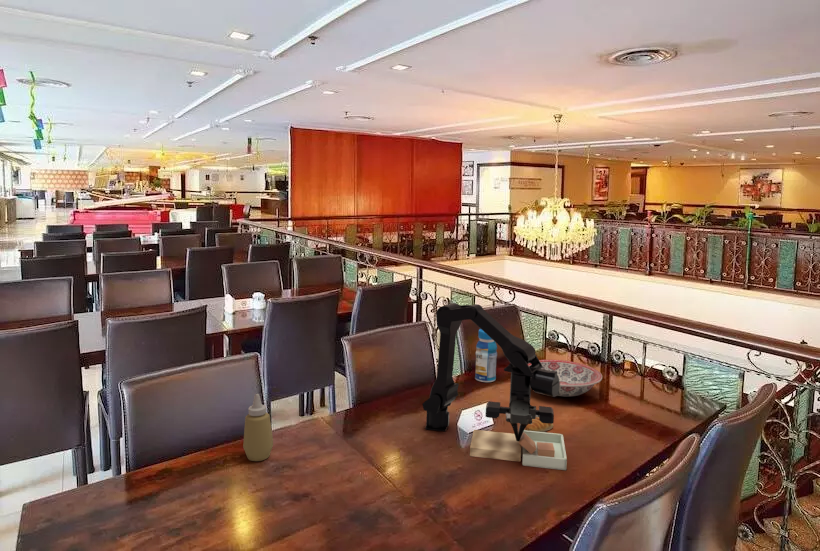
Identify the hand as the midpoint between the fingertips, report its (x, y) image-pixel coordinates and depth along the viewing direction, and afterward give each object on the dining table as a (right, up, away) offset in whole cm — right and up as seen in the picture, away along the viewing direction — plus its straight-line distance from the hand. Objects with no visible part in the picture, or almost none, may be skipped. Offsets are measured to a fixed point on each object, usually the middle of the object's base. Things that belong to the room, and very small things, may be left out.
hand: (517, 440), depth 157 cm
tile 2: (+8, -1, -1) cm, 8 cm away
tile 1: (+2, -1, 0) cm, 2 cm away
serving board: (-6, -3, +2) cm, 7 cm away
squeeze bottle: (-73, -3, -5) cm, 73 cm away
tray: (+7, -4, -1) cm, 8 cm away
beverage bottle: (-1, +6, +60) cm, 61 cm away
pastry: (+10, -1, +16) cm, 19 cm away
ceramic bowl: (+25, +3, +48) cm, 54 cm away
